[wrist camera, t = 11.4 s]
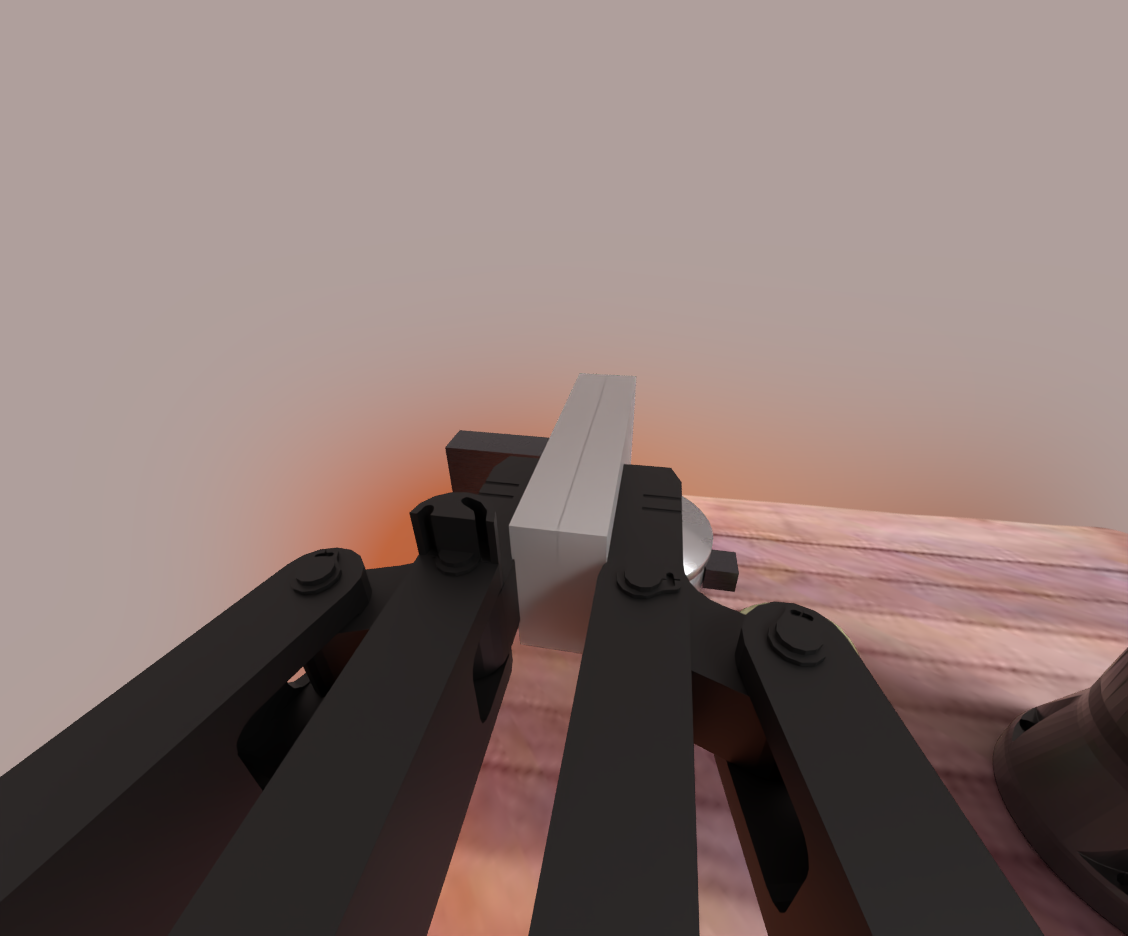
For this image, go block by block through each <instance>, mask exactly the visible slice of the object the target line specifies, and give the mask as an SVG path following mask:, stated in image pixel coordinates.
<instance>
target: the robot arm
mask: <svg viewBox="0 0 1128 936" xmlns="http://www.w3.org/2000/svg"><path fill="white" fill-rule="evenodd" d="M635 389H636V376H620V375H600V374H582V373H580V374H579V376H578V378H577V380H576V383H575V385H574V387H573V389H572V391H571V393H570V395H569V398H568V399H567V402H566V404H565V406H564V408H563V410H562V412H561V415H560V417H559V419H558V421H557V423H556V425H555V427H554V430H553V432H552V434H551V436H550V438H549V440H548V442H547V445H546V447H545V449H544V451H543V453H542V455H541V457H540V458H528V457H517V456H509V457H508V458H506V459H505V460H503V461H502V462H501V463H499V464H498V465H496V466H495V467H494V468H493V469H492V471H491V473H490V474H489V476H488V478H487V479H486V482H485V484H483V486H482V488H481V489H480V491H479V494H478V495H477V494H472V493H468V492H452V493H447V494H443V495H438V496H434V497H432V498H430V499H428V500H426V501H424V502H422V503H420V504H419V505H418V506H416V508H414V509H413V510H412V511H411V512H410V517H411V521H412V526H413V530H414V534H415V539H416V543H417V547H418V552H419V555H418V557H417V558H416V560H415V561H414V563H411V564H406V565H401V566H393V567H384V568H376V569H367V570H365V567H364V564H363V561H362V559H361V556H360V555H358V554H357V553H355V552H354V551H352V550H349V549H343V548H330V549H320V550H317V551H315V552H312V553H309V554H306V555H303V556H301V557H299V558H298V559H296V560H294V561H293V562H291V563H289V564H287V565H286V566H285V567H283V568H282V569H281V570H279V571H278V572H277V573H275V574H274V575H273V576H271V577H270V578H269V579H267V580H266V581H265V582H263V583H262V584H260V585H259V586H258V587H256V588H255V589H254V590H252V591H251V592H250V593H249V594H247V595H246V596H244V597H243V598H242V599H240V600H239V601H238V602H236V603H235V604H233V605H232V606H231V607H229V608H228V609H227V610H225V611H224V612H223V613H221V614H220V615H219V616H217V617H216V618H214V619H213V620H212V621H211V622H209V623H208V624H206V625H205V626H204V627H202V628H201V629H200V630H198V631H197V632H196V633H194V634H193V635H192V636H190V637H189V638H187V639H186V640H185V641H183V642H182V643H181V644H179V645H178V646H177V647H175V648H174V649H173V650H171V651H170V652H169V653H167V654H166V655H165V656H163V657H162V658H160V659H159V660H158V661H156V662H155V663H154V664H152V665H151V666H150V667H148V668H147V669H146V670H144V671H143V672H142V673H140V674H139V675H137V676H136V677H135V678H133V679H132V680H131V681H129V682H128V683H127V684H125V685H124V686H123V687H121V688H120V689H119V690H117V691H116V692H115V693H114V694H112V695H110V696H109V697H108V698H106V699H105V700H104V701H102V702H101V703H100V704H98V705H97V706H96V707H94V708H93V709H92V710H90V711H89V712H88V713H86V714H85V715H83V716H82V717H81V718H79V719H78V720H77V721H75V722H74V723H73V724H71V725H70V726H69V727H67V728H66V729H65V730H63V731H62V732H61V733H59V734H58V735H57V736H55V737H54V738H53V739H51V740H50V741H48V742H47V743H46V744H44V745H43V746H42V747H40V748H39V749H38V750H36V751H35V752H33V753H32V754H31V755H30V756H28V757H27V758H25V759H24V760H23V761H21V762H20V763H19V764H17V765H16V766H15V767H13V768H12V769H11V770H9V771H8V772H6V773H5V774H4V775H3V776H1V777H0V936H427V933H428V930H429V927H430V924H431V921H432V918H433V915H434V911H435V908H436V905H437V902H438V899H439V896H440V893H441V890H442V887H443V883H444V880H445V877H446V874H447V871H448V868H449V865H450V862H451V859H452V855H453V852H454V849H455V846H456V843H457V840H458V837H459V834H460V831H461V827H462V824H463V821H464V818H465V815H466V812H467V809H468V806H469V802H470V799H471V796H472V793H473V790H474V787H475V784H476V781H477V778H478V774H479V771H480V768H481V765H482V762H483V759H484V756H485V753H486V750H487V746H488V743H489V740H490V737H491V734H492V731H493V728H494V725H495V722H496V718H497V715H498V712H499V709H500V706H501V703H502V700H503V697H504V694H505V690H506V687H507V684H508V681H509V678H510V675H511V671H512V661H513V659H512V650H511V646H512V643H513V640H514V638H515V635H516V632H517V629H518V626H519V636H520V644H523V645H529V646H536V647H542V648H549V649H555V650H561V651H568V652H574V653H581V654H583V655H582V660H581V665H580V670H579V676H578V681H577V686H576V691H575V696H574V702H573V707H572V712H571V717H570V722H569V728H568V733H567V738H566V743H565V748H564V754H563V759H562V764H561V769H560V774H559V780H558V785H557V790H556V795H555V800H554V805H553V811H552V816H551V821H550V826H549V831H548V837H547V842H546V847H545V852H544V857H543V863H542V868H541V873H540V878H539V883H538V889H537V894H536V899H535V904H534V909H533V914H532V920H531V925H530V930H529V935H528V936H700V935H699V903H698V871H697V838H696V806H695V774H694V744H696V745H698V746H700V747H702V748H704V749H706V750H708V751H709V752H711V753H713V754H714V757H715V761H716V764H717V767H718V771H719V774H720V777H721V780H722V784H723V787H724V790H725V794H726V797H727V800H728V804H729V807H730V810H731V814H732V817H733V820H734V824H735V827H736V830H737V834H738V837H739V840H740V844H741V847H742V850H743V854H744V857H745V860H746V864H747V867H748V870H749V874H750V877H751V880H752V884H753V887H754V890H755V894H756V897H757V900H758V904H759V907H760V910H761V913H762V917H763V920H764V923H765V927H766V930H767V933H768V936H1044V934H1043V933H1042V931H1041V930H1040V928H1039V927H1038V925H1037V924H1036V922H1035V921H1034V919H1033V918H1032V916H1031V915H1030V913H1029V912H1028V910H1027V909H1026V907H1025V906H1024V904H1023V902H1022V901H1021V899H1020V898H1019V896H1018V895H1017V893H1016V892H1015V890H1014V889H1013V887H1012V886H1011V884H1010V883H1009V881H1008V880H1007V878H1006V877H1005V875H1004V874H1003V872H1002V871H1001V869H1000V868H999V866H998V865H997V863H996V862H995V860H994V859H993V857H992V856H991V854H990V853H989V851H988V850H987V848H986V847H985V845H984V844H983V842H982V841H981V839H980V838H979V836H978V835H977V833H976V832H975V830H974V829H973V827H972V826H971V824H970V823H969V821H968V820H967V818H966V817H965V815H964V814H963V812H962V810H961V809H960V807H959V806H958V804H957V803H956V801H955V800H954V798H953V797H952V795H951V794H950V792H949V791H948V789H947V788H946V786H945V785H944V783H943V782H942V780H941V779H940V777H939V776H938V774H937V773H936V771H935V770H934V768H933V767H932V765H931V764H930V762H929V761H928V759H927V758H926V756H925V755H924V753H923V752H922V750H921V749H920V747H919V746H918V744H917V743H916V741H915V740H914V738H913V737H912V735H911V734H910V732H909V731H908V729H907V728H906V726H905V725H904V723H903V722H902V720H901V718H900V717H899V715H898V714H897V712H896V711H895V709H894V708H893V706H892V705H891V703H890V702H889V700H888V699H887V697H886V696H885V694H884V693H883V691H882V690H881V688H880V687H879V685H878V684H877V682H876V681H875V679H874V678H873V676H872V675H871V673H870V672H869V670H868V669H867V667H866V666H865V664H864V663H863V661H862V660H861V658H860V657H859V655H858V654H857V652H856V651H855V649H854V648H853V646H852V645H851V643H850V642H849V640H848V639H847V637H846V636H845V635H844V634H843V633H842V632H841V631H840V630H839V629H838V628H837V626H836V625H835V624H834V623H833V622H831V621H829V620H828V619H826V618H825V617H823V616H822V615H820V614H819V613H817V612H816V611H814V610H811V609H808V608H805V607H803V606H800V605H797V604H794V603H784V602H770V603H766V604H761V605H758V606H756V607H755V608H754V609H752V610H751V611H750V612H748V613H747V614H746V615H745V614H743V613H740V612H738V611H735V610H732V609H730V608H727V607H725V606H722V605H720V604H718V603H716V602H714V601H712V600H710V599H708V598H707V597H706V596H704V595H703V594H701V593H700V592H699V591H698V590H697V589H696V588H695V587H694V586H693V585H692V584H691V583H690V581H689V579H688V577H687V576H686V574H685V570H684V565H683V528H682V488H681V487H682V486H681V481H680V480H679V478H678V477H677V476H676V474H675V473H674V471H673V470H672V469H671V468H665V467H654V466H642V465H631V451H632V434H633V420H634V405H635ZM302 667H304V669H305V671H306V673H305V674H304V675H303V676H301V677H300V678H299V679H297V680H296V681H294V682H290V683H288V682H287V681H288V680H289V679H290V678H291V677H292V676H294V675H295V674H296V673H297V672H298V671H299V670H300V668H302ZM993 768H994V774H995V778H996V782H997V785H998V788H999V791H1000V793H1001V796H1002V798H1003V800H1004V802H1005V804H1006V807H1007V808H1008V810H1009V812H1010V814H1011V816H1012V817H1013V819H1014V821H1015V822H1016V824H1017V825H1018V827H1019V828H1020V830H1021V831H1022V833H1023V834H1024V836H1025V837H1026V838H1027V840H1028V841H1029V842H1030V844H1031V845H1032V846H1033V848H1034V849H1035V850H1036V851H1037V853H1038V854H1039V855H1040V856H1041V857H1042V859H1043V860H1044V861H1045V862H1046V863H1047V864H1048V865H1049V866H1050V868H1051V869H1052V870H1053V871H1054V872H1055V873H1056V874H1057V875H1058V876H1059V877H1060V878H1061V879H1062V880H1063V881H1064V882H1065V883H1066V884H1067V885H1068V886H1069V887H1070V888H1071V889H1072V890H1073V891H1074V892H1075V893H1076V894H1077V895H1078V896H1080V897H1081V898H1082V899H1083V900H1084V901H1085V902H1086V903H1087V904H1089V905H1090V906H1091V907H1092V908H1093V909H1094V910H1096V911H1097V912H1098V913H1099V914H1100V915H1102V916H1103V917H1104V918H1105V919H1107V920H1108V921H1109V922H1110V923H1112V924H1113V925H1114V926H1116V927H1117V928H1118V929H1120V930H1121V931H1122V932H1124V933H1125V934H1127V935H1128V648H1127V649H1126V650H1125V651H1124V652H1123V653H1122V654H1121V655H1120V656H1119V657H1118V658H1117V659H1116V660H1115V661H1114V663H1113V664H1112V665H1111V666H1110V667H1109V668H1108V669H1107V670H1106V671H1105V672H1104V673H1103V675H1102V676H1101V677H1100V678H1099V679H1098V680H1097V681H1096V682H1095V683H1094V684H1093V685H1092V686H1091V687H1090V688H1088V689H1085V690H1082V691H1079V692H1077V693H1074V694H1071V695H1068V696H1065V697H1063V698H1060V699H1057V700H1054V701H1052V702H1049V703H1046V704H1043V705H1041V706H1038V707H1035V708H1033V709H1030V710H1028V711H1026V712H1024V713H1022V714H1021V715H1020V716H1018V717H1017V718H1016V719H1015V720H1014V721H1013V722H1012V723H1011V724H1010V725H1009V726H1008V728H1007V729H1006V730H1005V731H1004V733H1003V734H1002V735H1001V736H1000V738H999V739H998V741H997V743H996V746H995V749H994V754H993Z"/></svg>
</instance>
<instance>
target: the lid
mask: <svg viewBox="0 0 1128 936" xmlns="http://www.w3.org/2000/svg"><path fill="white" fill-rule="evenodd" d="M548 440H549V438H545V437H533V436H522V435H510V434H498V433H485V432H473V431H462V430H460V431H459V432H458V433H457V434H456V435H455V437H454V438H453V439H452V440H451V441H450V442H449V444H448V445H447V446H446V448H445V449H446V455H447V460H448V466H449V473H450V479H451V485H452V490H453V492H468V493H472V494H477V495H478V494H479V491H480V489H481V488H482V486H483V484H485V482H486V479H487V478H488V476H489V474H490V473H491V471H492V469H493V468H494V467H495V466H496V465H498V464H499V463H501V462H502V461H503V460H505V459H506V458H508V457H509V456H517V457H528V458H540V457H541V455H542V453H543V451H544V449H545V447H546V445H547V442H548ZM682 528H683V565H684V570H685V574H686V576H687V577H688V579H689V581H691V580H693V579H694V578H695V577H697V576H698V575H699V574H700V573H701V572H702V570H703V569H704V568H705V566H706V565H707V563H708V561H709V558H710V554H711V549H712V544H713V533H712V528H711V526H710V523H709V521H708V519H707V518H706V516H705V515H704V514H703V512H702V511H701V510H700V509H699V508H698V507H697V506H696V505H694V504H693V503H692V502H690V501H689V500H688V499H686V498H684V497H683V496H682Z"/></svg>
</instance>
